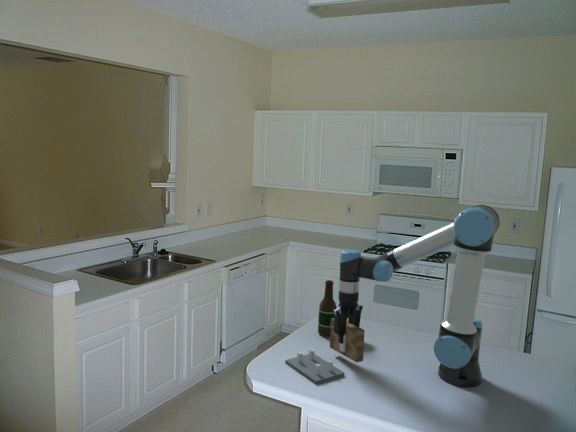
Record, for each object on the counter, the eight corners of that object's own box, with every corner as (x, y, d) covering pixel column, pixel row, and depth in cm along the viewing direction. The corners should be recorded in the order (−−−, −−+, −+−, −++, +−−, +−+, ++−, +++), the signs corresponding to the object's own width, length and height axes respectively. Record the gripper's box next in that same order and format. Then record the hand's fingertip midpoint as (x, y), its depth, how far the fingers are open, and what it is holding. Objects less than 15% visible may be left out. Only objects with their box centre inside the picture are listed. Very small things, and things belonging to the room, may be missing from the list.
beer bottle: (316, 335, 213) (319, 282, 210) (319, 329, 221) (322, 277, 217) (333, 338, 212) (337, 284, 208) (336, 331, 219) (339, 279, 216)
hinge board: (344, 375, 177) (345, 363, 177) (315, 384, 170) (316, 371, 169) (312, 355, 193) (313, 344, 192) (285, 362, 186) (285, 351, 185)
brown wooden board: (362, 360, 183) (364, 330, 182) (355, 363, 181) (356, 331, 179) (335, 345, 196) (336, 317, 195) (328, 347, 194) (329, 318, 193)
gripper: (358, 285, 193) (355, 342, 196) (325, 291, 184) (323, 350, 187) (371, 290, 187) (368, 349, 190) (338, 296, 178) (336, 358, 181)
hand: (346, 349), depth 189 cm, fingers closed on brown wooden board, 3 cm apart
